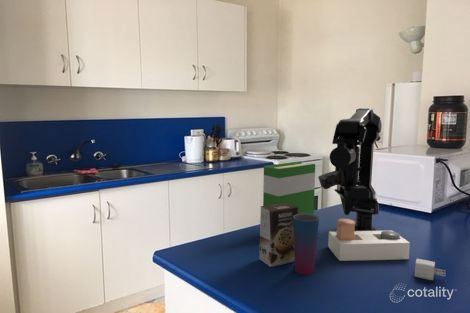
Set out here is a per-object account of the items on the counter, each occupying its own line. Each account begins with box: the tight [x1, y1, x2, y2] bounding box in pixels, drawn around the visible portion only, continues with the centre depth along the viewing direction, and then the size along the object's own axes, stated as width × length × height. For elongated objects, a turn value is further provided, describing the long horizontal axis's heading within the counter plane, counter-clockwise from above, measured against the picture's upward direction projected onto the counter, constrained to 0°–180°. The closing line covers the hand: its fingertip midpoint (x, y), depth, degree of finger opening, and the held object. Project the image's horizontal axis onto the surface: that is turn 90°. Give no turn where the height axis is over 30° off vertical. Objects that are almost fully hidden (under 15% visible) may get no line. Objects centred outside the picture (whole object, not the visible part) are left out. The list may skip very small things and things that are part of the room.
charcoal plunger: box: [381, 230, 401, 240], centre depth 113 cm, size 5×5×6 cm
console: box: [327, 230, 411, 262], centre depth 113 cm, size 11×21×5 cm, turn 93°
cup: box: [293, 214, 320, 276], centre depth 100 cm, size 7×7×15 cm
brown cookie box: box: [259, 203, 298, 268], centre depth 106 cm, size 9×6×16 cm
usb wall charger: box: [414, 258, 446, 281], centre depth 97 cm, size 4×7×4 cm, turn 60°
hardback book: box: [262, 160, 316, 215], centre depth 130 cm, size 18×7×24 cm, turn 127°
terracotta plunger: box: [335, 218, 356, 240], centre depth 112 cm, size 5×5×6 cm
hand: (346, 214), depth 111 cm, fingers closed
